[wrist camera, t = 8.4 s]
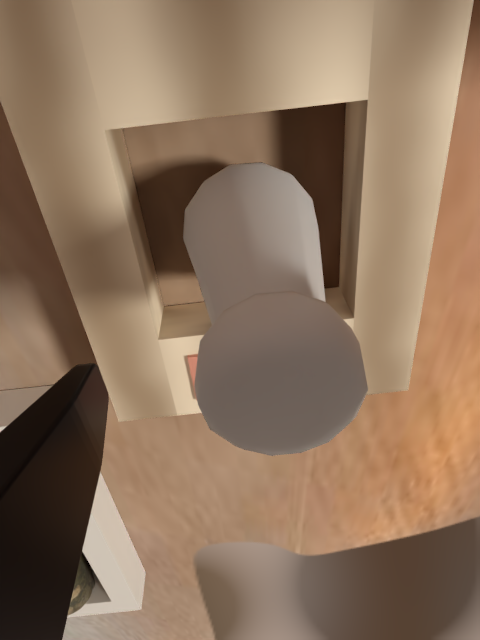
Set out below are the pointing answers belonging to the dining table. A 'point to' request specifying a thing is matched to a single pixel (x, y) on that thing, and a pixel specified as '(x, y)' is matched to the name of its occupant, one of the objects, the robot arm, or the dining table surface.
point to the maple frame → (225, 100)
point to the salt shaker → (268, 316)
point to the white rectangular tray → (95, 533)
